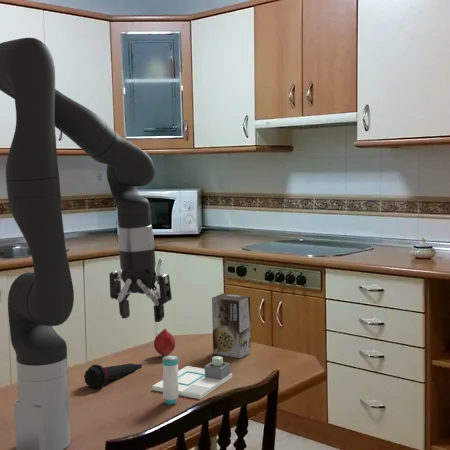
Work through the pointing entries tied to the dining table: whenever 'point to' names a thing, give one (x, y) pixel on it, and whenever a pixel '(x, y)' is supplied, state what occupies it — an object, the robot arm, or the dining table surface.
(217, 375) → the button housing
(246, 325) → the coffee box
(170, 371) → the marker
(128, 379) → the dining table surface
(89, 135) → the robot arm
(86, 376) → the microphone
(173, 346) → the onion
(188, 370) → the white flat rectangular panel
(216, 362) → the button
